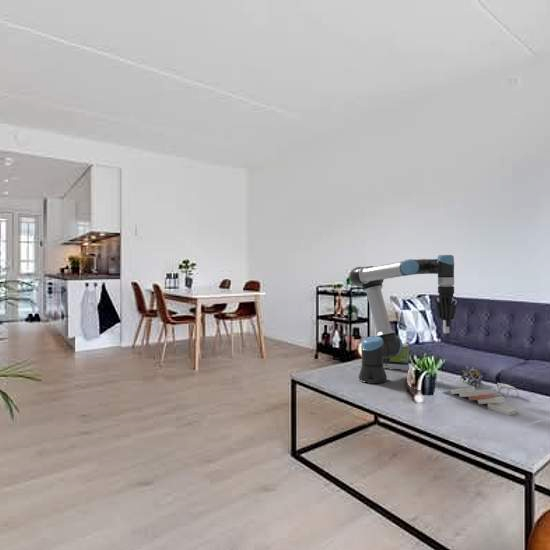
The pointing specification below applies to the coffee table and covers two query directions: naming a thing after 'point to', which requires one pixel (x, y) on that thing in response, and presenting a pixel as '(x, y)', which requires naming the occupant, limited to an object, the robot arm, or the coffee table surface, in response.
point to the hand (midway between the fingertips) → (446, 332)
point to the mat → (467, 400)
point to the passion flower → (472, 376)
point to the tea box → (398, 359)
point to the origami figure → (506, 388)
